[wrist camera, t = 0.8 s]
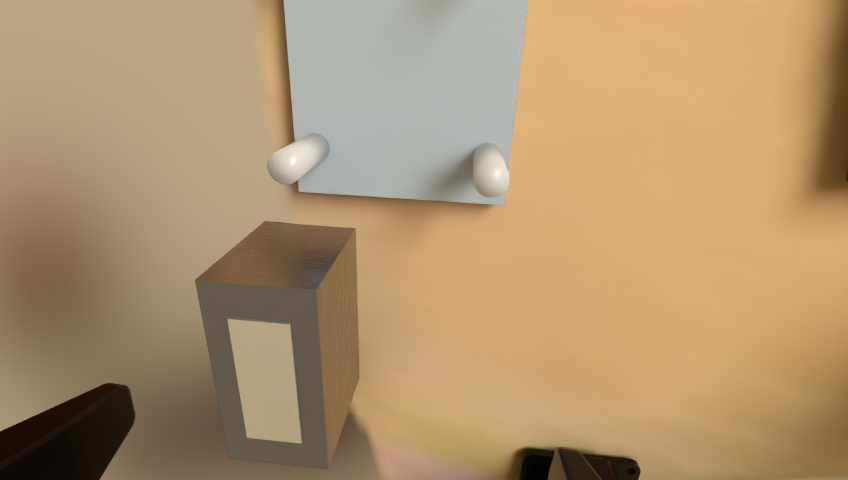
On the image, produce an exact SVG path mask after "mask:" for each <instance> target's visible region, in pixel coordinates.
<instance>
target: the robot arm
mask: <svg viewBox="0 0 848 480" xmlns="http://www.w3.org/2000/svg"><path fill="white" fill-rule="evenodd" d="M134 420H135V410H134V406H133V401H132V397H131V393H130V389H129V388H128V387H127V386H125V385H120V384H113V383H107V384H103V385H101V386H99V387H97V388H95V389H92V390H91V391H88V392H86V393H84V394H81V395H79V396H77V397H75V398H73V399H70V400H68V401H66V402H64V403H62V404H59V405H57V406H55V407H53V408H51V409H49V410H46V411H44V412H42V413H40V414H38V415H35V416H33V417H31V418H29V419H27V420H24V421H22V422H20V423H18V424H16V425H13V426H11V427H9V428H7V429H5V430H2V431H0V480H100V478H101V476H102V475H103V473H104V471H105V470H106V468H107V467H108V465H109V463H110V462H111V460H112V458H113V457H114V455H115V454H116V452H117V450H118V449H119V447H120V446H121V444H122V442H123V441H124V439H125V437H126V436H127V434H128V432H129V431H130V429H131V428H132V425H133V423H134ZM639 475H640V468H639V465H638V463H637V462H636V461H635V460H632V459H625V458H615V457H605V456H596V455H586V454H581V453H580V452H579V451H578V450H576V449H571V448H564V447H558V448H557V449H556V450H555V451H547V450H538V449H527V450H525V451H524V452H523V453H522V457H521V463H520V468H519V474H518V480H638V478H639Z"/></svg>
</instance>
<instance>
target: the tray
mask: <svg viewBox="0 0 848 480" xmlns="http://www.w3.org/2000/svg"><path fill="white" fill-rule="evenodd" d="M527 5H528V0H284V12H285V24H286V37H287V50H288V63H289V75H290V88H291V101H292V114H293V126H294V139H295V142H293V143H292V144H290V145H288V146H286V147H284V148H282V149H280V150H278V151H276V152H275V153H273V154H272V155H271V156H270V158H269V159H268V164H267V165H268V166H267V167H268V171H269V173H270V175H271V176H272V178H273V179H274V180H275V181H277V182H279V183H281V184H292V183H294V182H296V181H297V180H298V190H299V192H311V193H326V194H341V195H356V196H372V197H387V198H402V199H417V200H433V201H448V202H463V203H478V204H493V205H504V202H505V194H506V189H507V188H508V185H509V174H508V168H509V159H510V151H511V142H512V134H513V125H514V116H515V108H516V99H517V91H518V82H519V74H520V65H521V56H522V48H523V39H524V31H525V22H526V14H527Z"/></svg>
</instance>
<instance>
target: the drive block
mask: <svg viewBox="0 0 848 480" xmlns="http://www.w3.org/2000/svg"><path fill="white" fill-rule="evenodd" d="M195 282H196V288H197V293H198V298H199V303H200V308H201V313H202V319H203V324H204V328H205V334H206V340H207V345H208V350H209V355H210V360H211V366H212V370H213V376H214V381H215V387H216V392H217V397H218V402H219V408H220V413H221V417H222V423H223V428H224V433H225V439H226V444H227V449H228V454H229V458H230V459H239V460H249V461H258V462H267V463H276V464H284V465H293V466H302V467H311V468H320V469H329V467H330V464H331V461H332V457H333V455H334V451H335V449H336V446H337V443H338V440H339V437H340V434H341V431H342V428H343V425H344V422H345V419H346V416H347V413H348V410H349V407H350V404H351V401H352V398H353V395H354V392H355V389H356V386H357V383H358V380H359V347H358V307H357V267H356V228H342V227H328V226H314V225H300V224H292V223H283V222H270V221H269V222H268V221H265V222H264V223H262V224H261V225H260V226H259V227H258V228H256V229H255V230H254V231H253V232H252V233H250V234H249V235H248V236H247V237H246V238H244V239H243V240H242V241H241V242H240V243H239V244H237V245H236V246H235V247H234V248H233V249H231V250H230V251H229V252H228V253H227V254H225V255H224V256H223V257H222V258H221V259H220V260H218V261H217V262H216V263H215V264H214V265H212V266H211V267H210V268H209V269H208V270H207V271H205V272H204V273H203V274H202V275H201V276H199V277H198V278H197V279H196V280H195Z"/></svg>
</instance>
